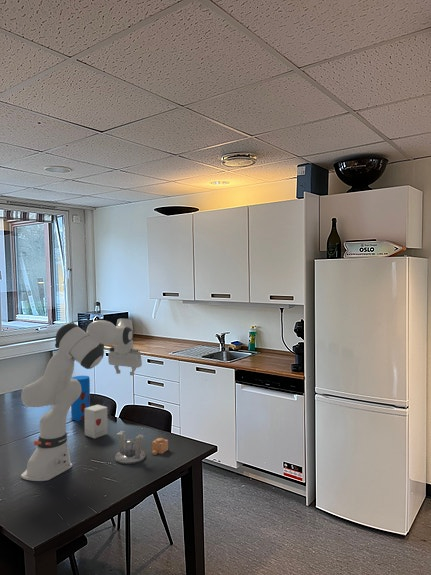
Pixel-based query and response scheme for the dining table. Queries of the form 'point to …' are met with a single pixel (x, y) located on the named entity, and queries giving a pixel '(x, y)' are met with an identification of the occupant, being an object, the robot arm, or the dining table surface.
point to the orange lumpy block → (159, 446)
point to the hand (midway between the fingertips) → (125, 374)
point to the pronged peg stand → (129, 450)
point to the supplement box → (96, 421)
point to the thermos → (81, 399)
